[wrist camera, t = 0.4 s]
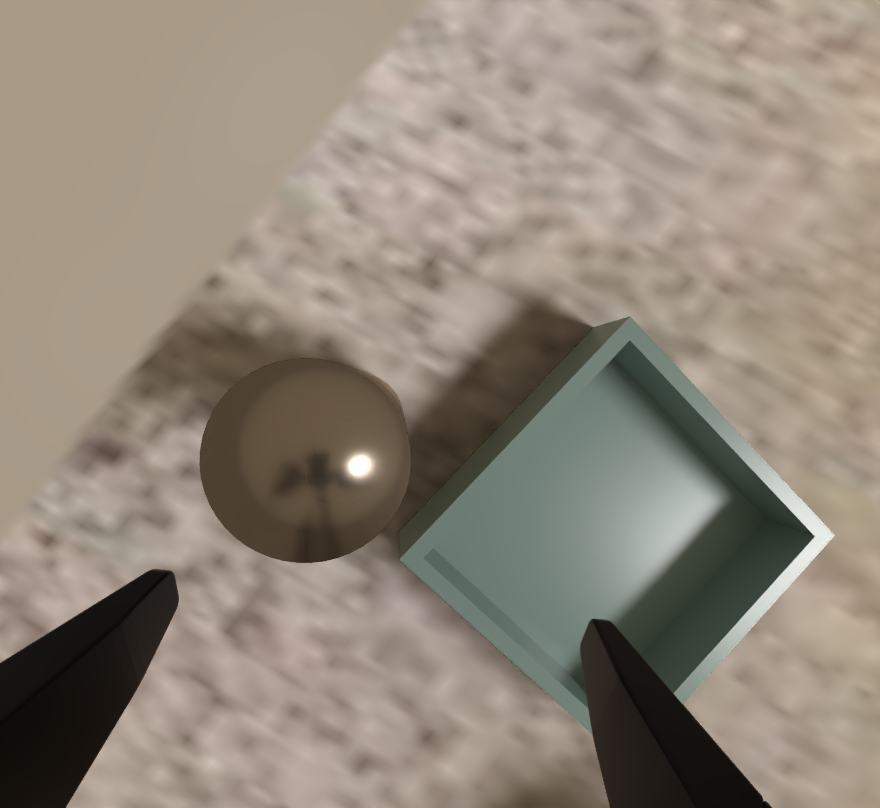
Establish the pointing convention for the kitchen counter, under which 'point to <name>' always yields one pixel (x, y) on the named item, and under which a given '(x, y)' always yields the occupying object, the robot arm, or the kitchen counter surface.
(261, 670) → the kitchen counter surface
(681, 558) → the tray
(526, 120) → the kitchen counter surface
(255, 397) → the canister
